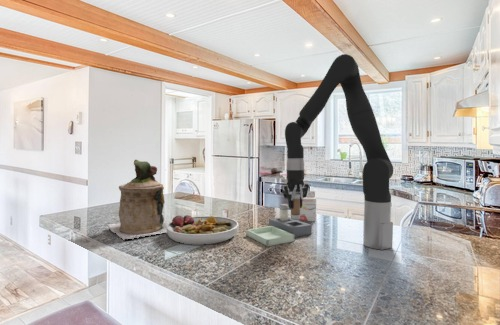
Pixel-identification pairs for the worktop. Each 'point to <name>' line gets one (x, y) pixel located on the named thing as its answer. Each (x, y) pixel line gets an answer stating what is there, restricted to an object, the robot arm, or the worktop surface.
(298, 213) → the cylinder
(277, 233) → the parts tray
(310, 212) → the ink cartridge box
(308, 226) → the block
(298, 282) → the worktop surface
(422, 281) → the worktop surface
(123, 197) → the cookie jar
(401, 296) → the worktop surface
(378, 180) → the robot arm
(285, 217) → the fuse
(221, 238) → the bowl
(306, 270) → the worktop surface
